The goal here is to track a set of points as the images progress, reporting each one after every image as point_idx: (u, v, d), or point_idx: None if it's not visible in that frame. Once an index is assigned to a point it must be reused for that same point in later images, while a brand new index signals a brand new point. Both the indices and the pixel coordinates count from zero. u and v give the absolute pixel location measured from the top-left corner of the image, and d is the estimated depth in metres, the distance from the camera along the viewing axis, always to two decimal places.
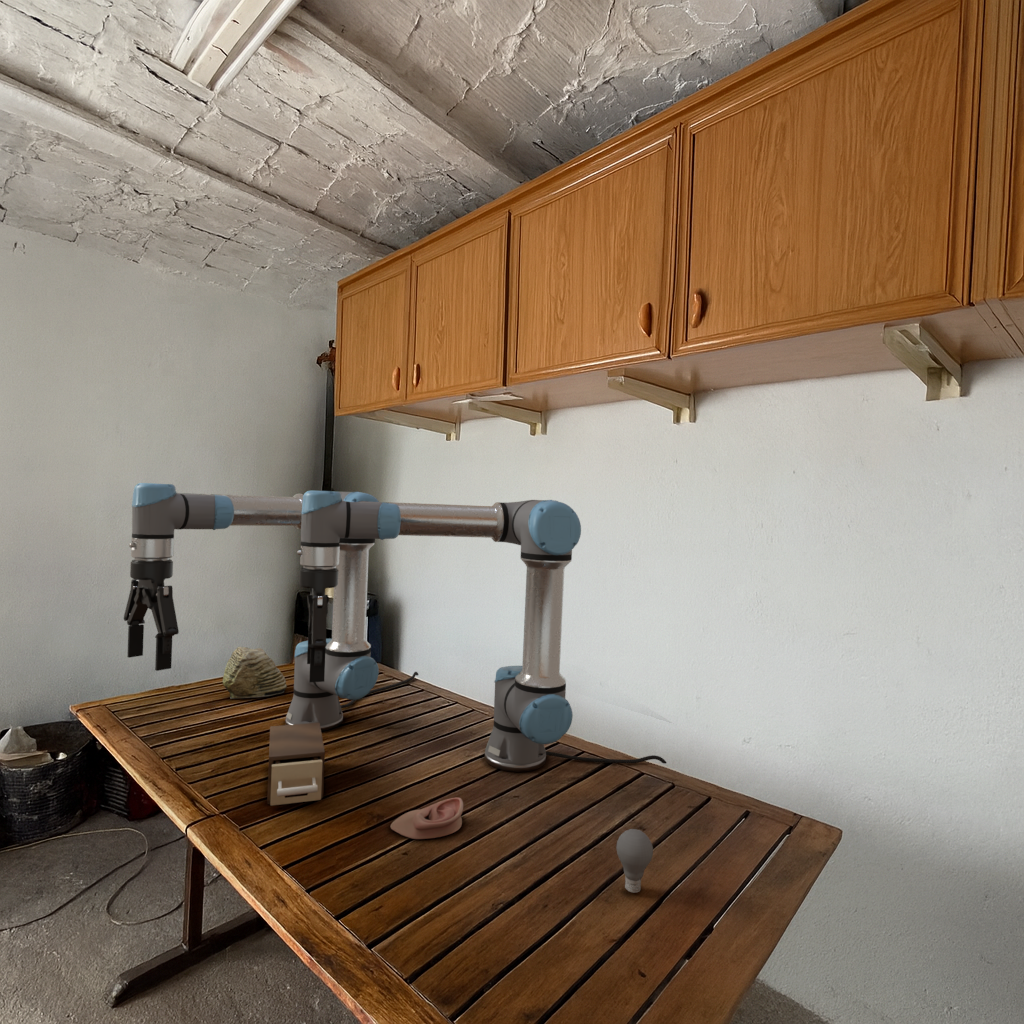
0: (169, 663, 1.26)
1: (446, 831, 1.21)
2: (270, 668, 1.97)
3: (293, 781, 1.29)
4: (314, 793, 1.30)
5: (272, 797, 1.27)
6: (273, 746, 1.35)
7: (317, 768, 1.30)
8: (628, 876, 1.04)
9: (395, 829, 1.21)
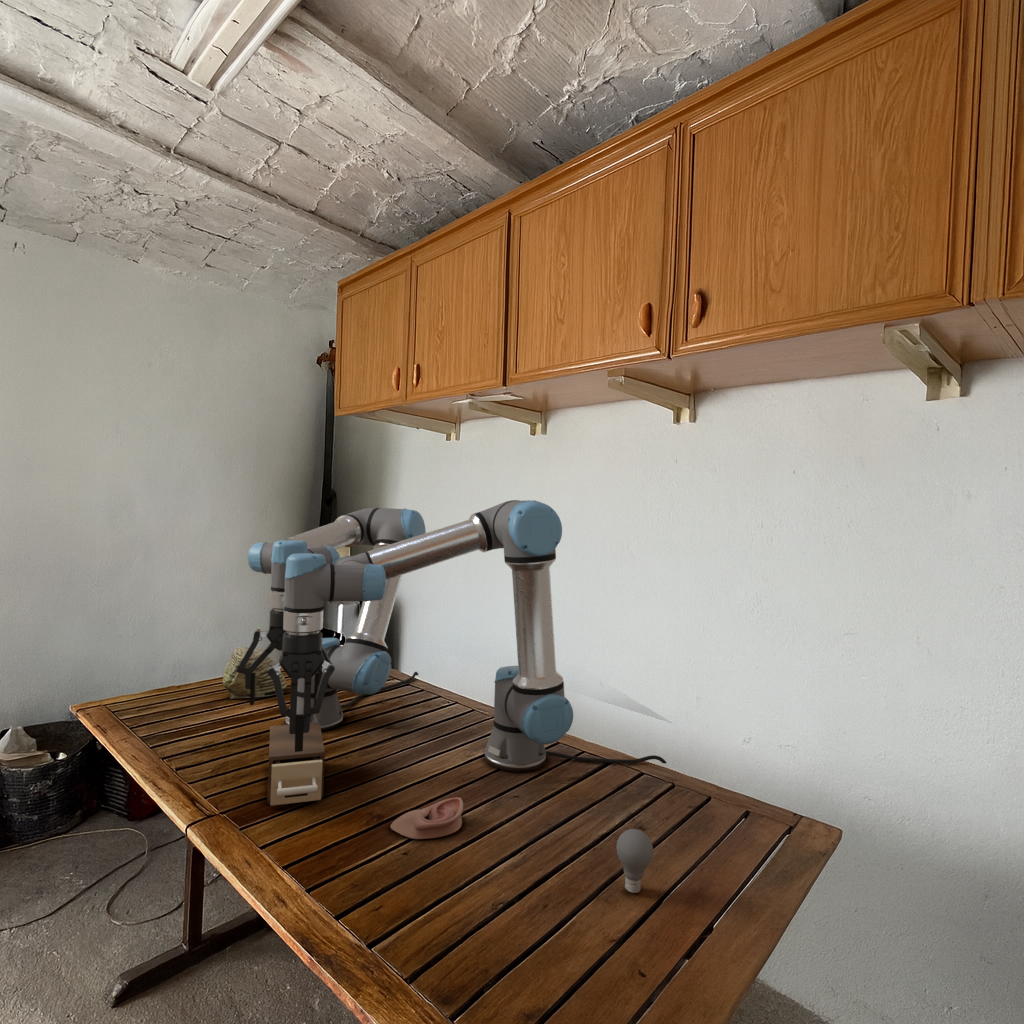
0: None
1: (446, 831, 1.21)
2: None
3: (293, 781, 1.29)
4: (314, 793, 1.30)
5: (272, 797, 1.27)
6: (273, 746, 1.35)
7: (317, 768, 1.30)
8: (628, 876, 1.04)
9: (395, 829, 1.21)
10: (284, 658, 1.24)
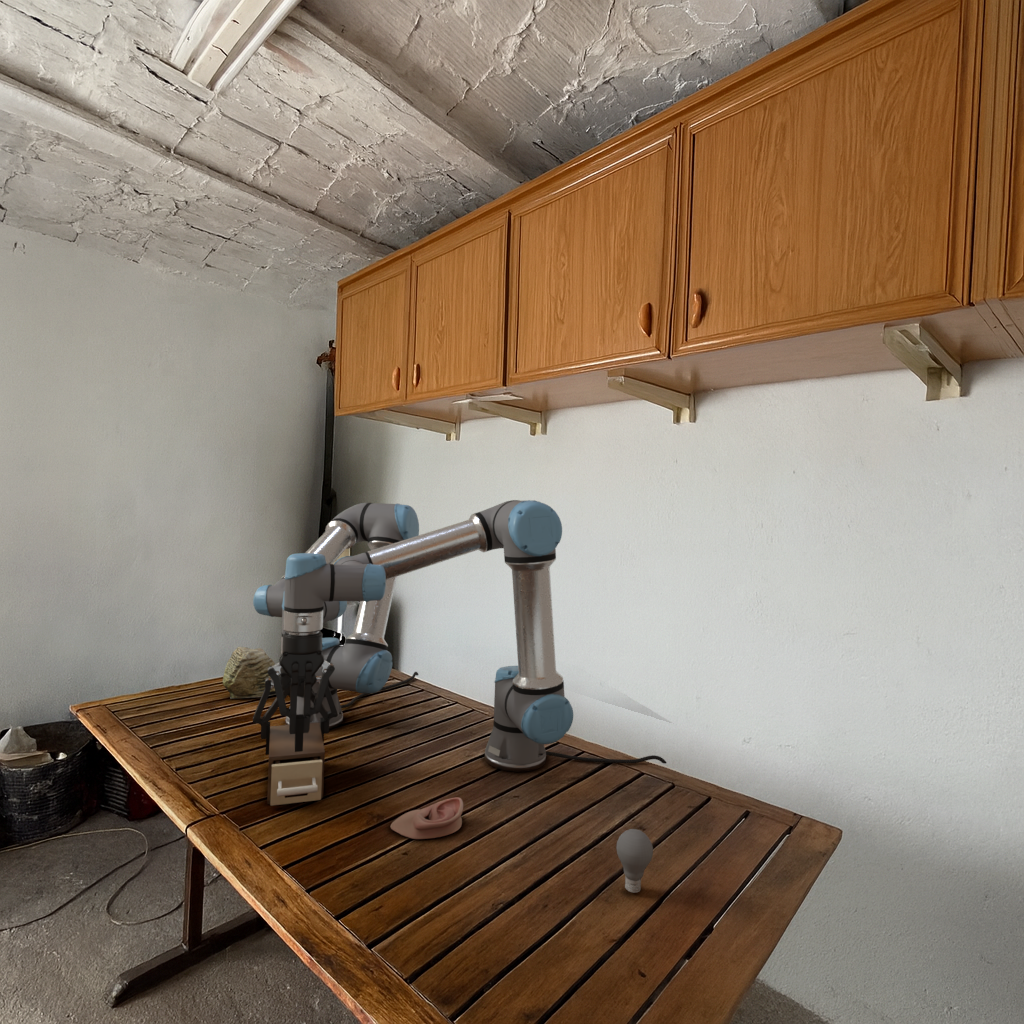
0: None
1: (446, 831, 1.21)
2: None
3: (293, 781, 1.29)
4: (314, 793, 1.30)
5: (272, 797, 1.27)
6: (273, 746, 1.35)
7: (317, 768, 1.30)
8: (628, 876, 1.04)
9: (395, 829, 1.21)
10: (284, 658, 1.24)
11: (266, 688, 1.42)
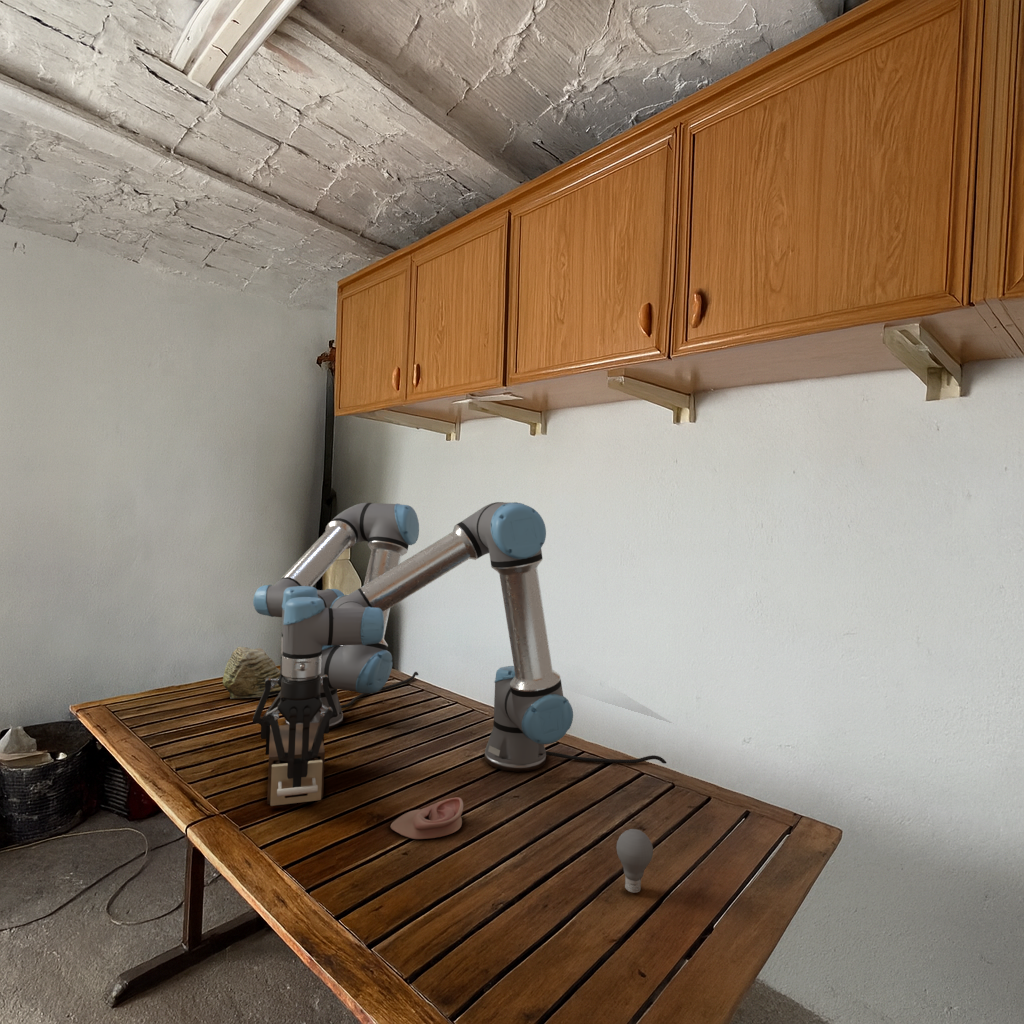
0: None
1: (446, 831, 1.21)
2: (270, 668, 1.97)
3: None
4: (314, 793, 1.30)
5: (272, 797, 1.27)
6: (273, 746, 1.35)
7: (317, 768, 1.30)
8: (628, 876, 1.04)
9: (395, 829, 1.21)
10: (282, 703, 1.24)
11: (266, 688, 1.42)
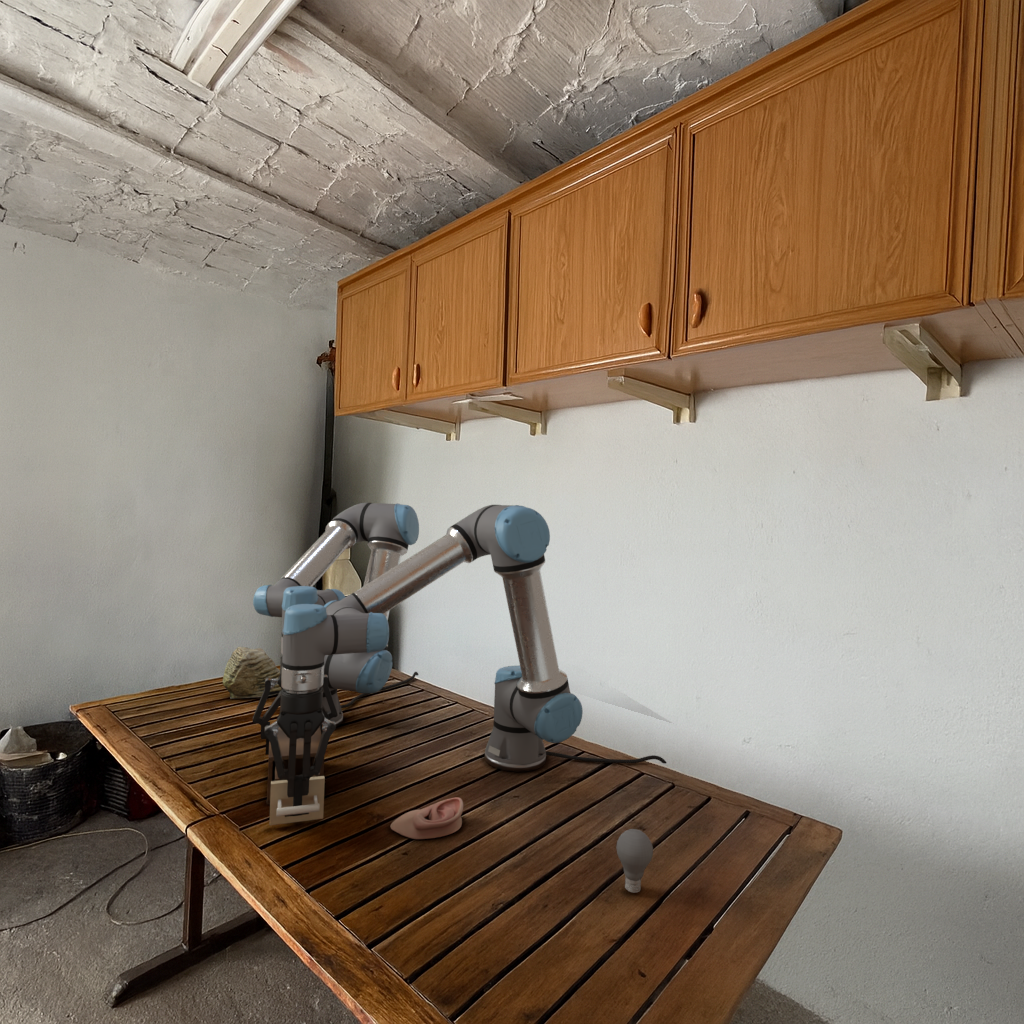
0: None
1: (446, 831, 1.21)
2: (270, 668, 1.97)
3: None
4: (316, 812, 1.23)
5: (271, 816, 1.20)
6: None
7: (319, 785, 1.23)
8: (628, 876, 1.04)
9: (395, 829, 1.21)
10: (282, 717, 1.17)
11: (266, 688, 1.42)
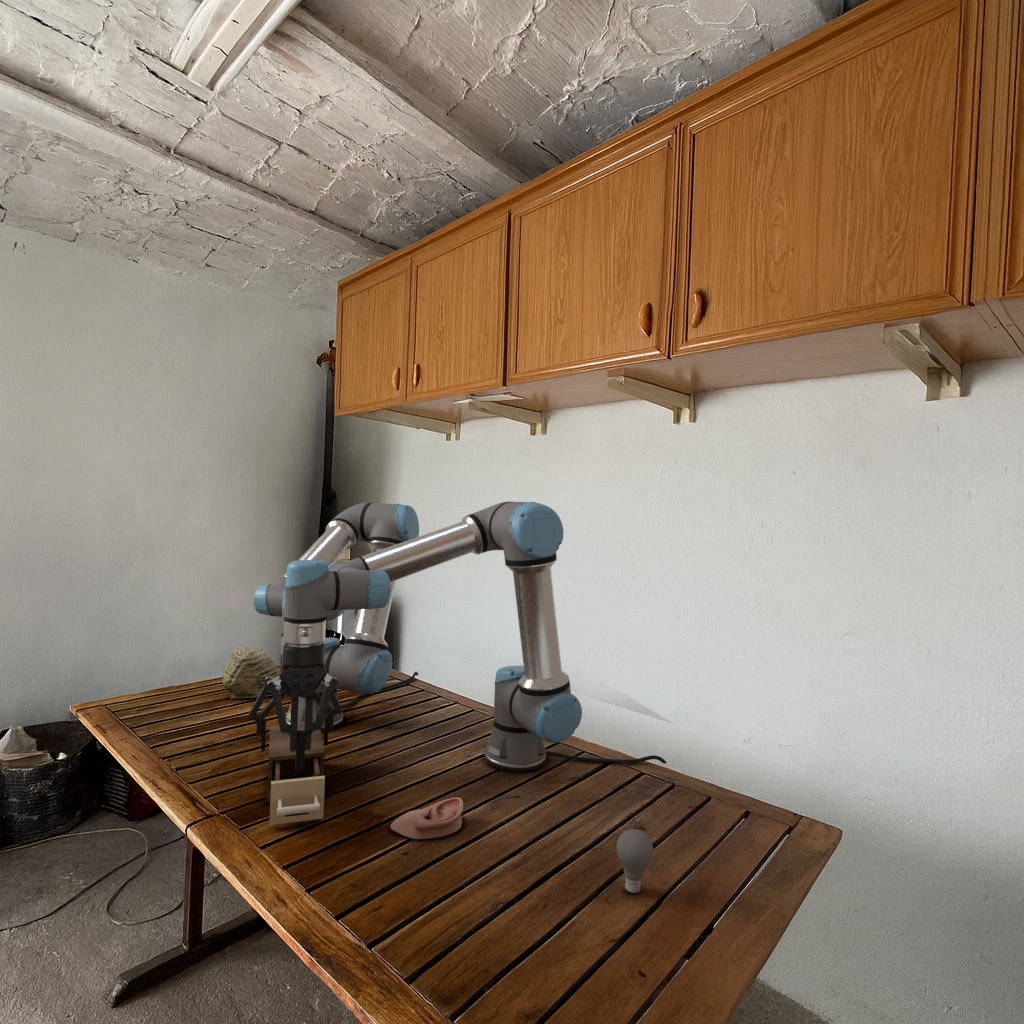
0: None
1: (446, 831, 1.21)
2: (270, 668, 1.97)
3: (293, 799, 1.21)
4: (316, 811, 1.23)
5: (271, 816, 1.20)
6: (273, 746, 1.35)
7: (319, 785, 1.23)
8: (628, 876, 1.04)
9: (395, 829, 1.21)
10: (284, 671, 1.17)
11: (265, 686, 1.42)
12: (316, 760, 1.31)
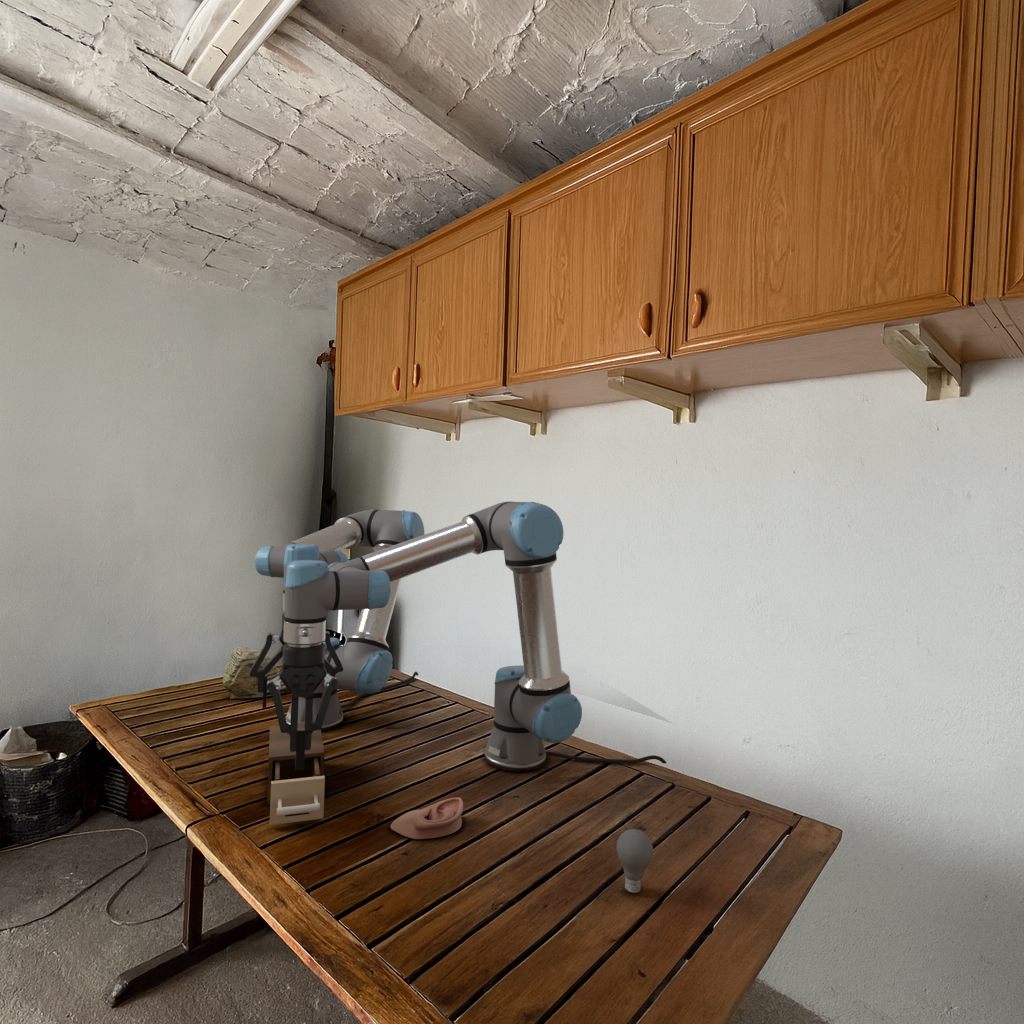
0: None
1: (446, 831, 1.21)
2: None
3: (293, 799, 1.21)
4: (316, 811, 1.23)
5: (271, 816, 1.20)
6: (273, 746, 1.35)
7: (319, 785, 1.23)
8: (628, 876, 1.04)
9: (395, 829, 1.21)
10: (284, 671, 1.17)
11: (267, 642, 1.41)
12: (316, 760, 1.31)
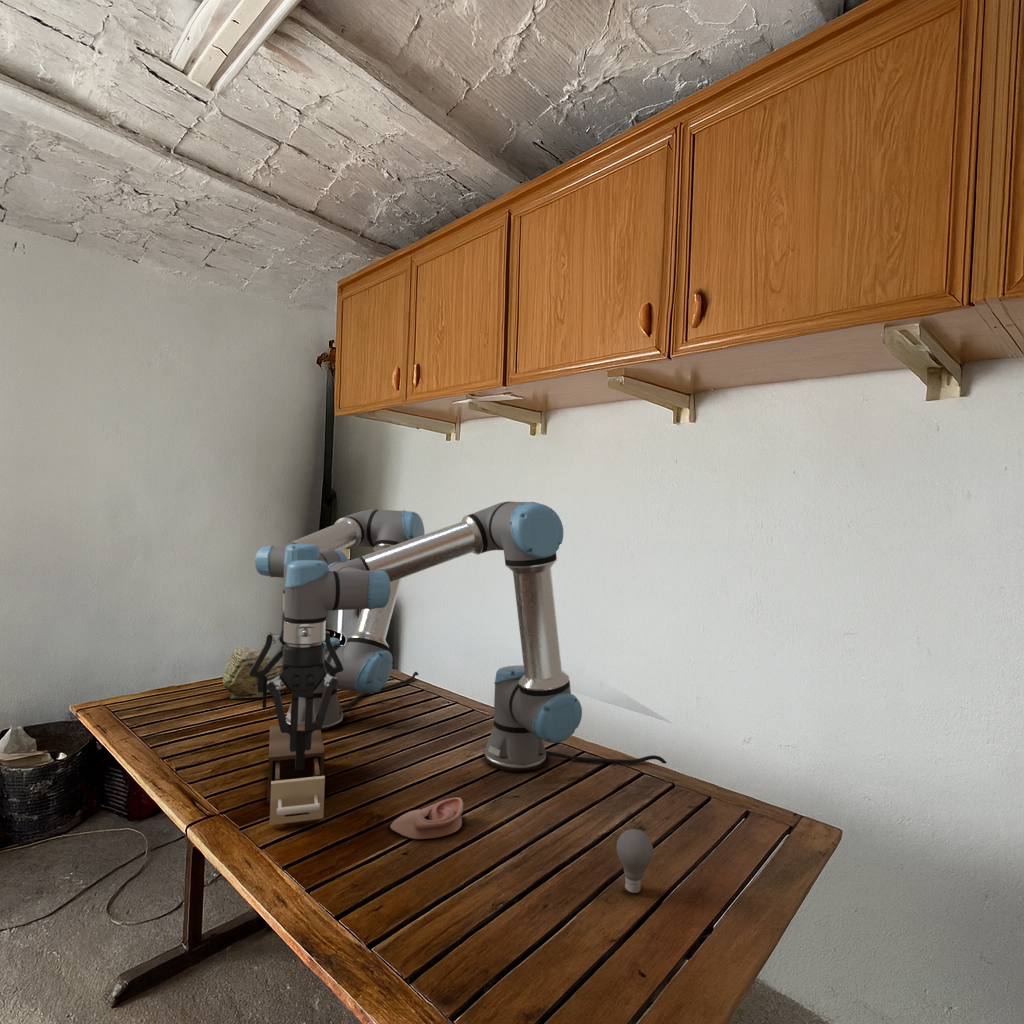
0: None
1: (446, 831, 1.21)
2: None
3: (293, 799, 1.21)
4: (316, 811, 1.23)
5: (271, 816, 1.20)
6: (273, 746, 1.35)
7: (319, 785, 1.23)
8: (628, 876, 1.04)
9: (395, 829, 1.21)
10: (284, 671, 1.17)
11: (267, 642, 1.41)
12: (316, 760, 1.31)
